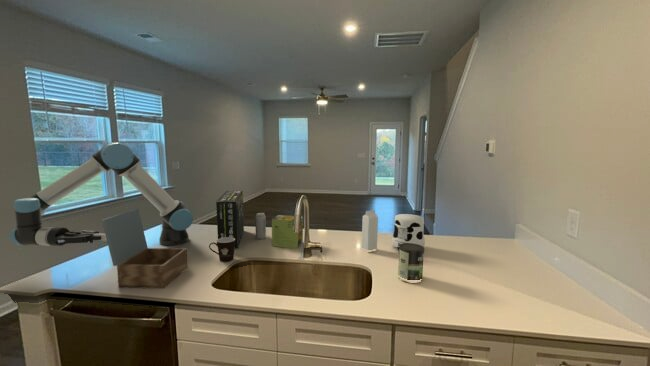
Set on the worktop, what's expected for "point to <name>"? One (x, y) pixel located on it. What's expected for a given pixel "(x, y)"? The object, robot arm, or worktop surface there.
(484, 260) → the worktop surface
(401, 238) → the milk container
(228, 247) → the coffee mug
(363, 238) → the milk
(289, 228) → the protein box
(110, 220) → the lid
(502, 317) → the worktop surface
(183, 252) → the walnut box
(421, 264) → the coffee can
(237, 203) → the router box
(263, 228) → the energy drink can
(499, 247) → the worktop surface
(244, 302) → the worktop surface
